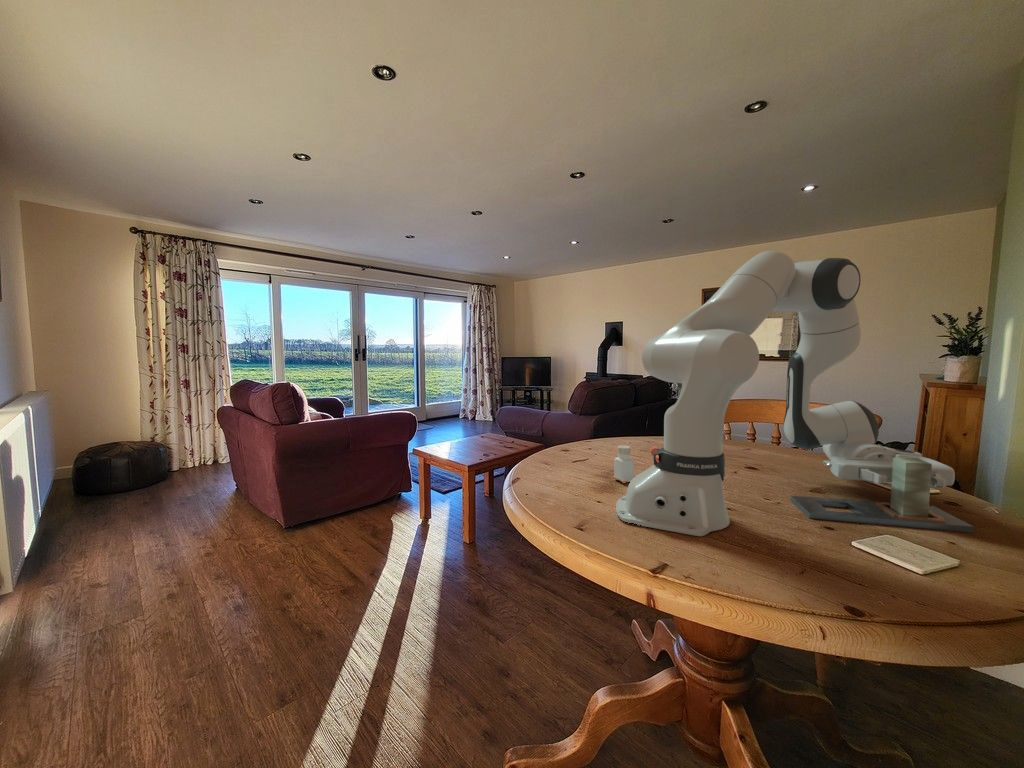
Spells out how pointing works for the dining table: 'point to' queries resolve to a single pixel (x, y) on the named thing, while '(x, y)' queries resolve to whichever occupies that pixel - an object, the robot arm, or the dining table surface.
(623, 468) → the white pill bottle
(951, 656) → the dining table surface
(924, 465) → the peg
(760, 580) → the dining table surface
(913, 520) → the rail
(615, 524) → the dining table surface
